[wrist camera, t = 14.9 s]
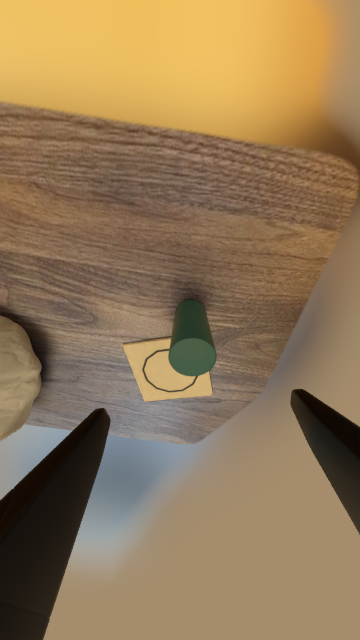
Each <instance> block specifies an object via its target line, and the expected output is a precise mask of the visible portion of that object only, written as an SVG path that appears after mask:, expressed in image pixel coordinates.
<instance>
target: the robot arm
mask: <svg viewBox="0 0 360 640" xmlns="http://www.w3.org/2000/svg"><path fill="white" fill-rule="evenodd" d="M291 407H292V409H293V411H294V414H295V415H296V418H297V420H298V422H299V425H300V427H301V429H302V431H303V433H304V436H305V438H306V440H307V442H308V444H309V446H310V448H311V450H312V452H313V453H314V455H315V457H316V459H317V460H318V462H319V464H320V466H321V467H322V469H323V471H324V473H325V474H326V476H327V478H328V480H329V481H330V483H331V485H332V487H333V488H334V490H335V492H336V494H337V495H338V497H339V499H340V501H341V502H342V504H343V506H344V508H345V509H346V511H347V513H348V515H349V516H350V518H351V520H352V522H353V523H354V525H355V527H356V529H357V530H358V532H359V534H360V427H359V426H358V425H356V424H355V423H353V422H352V421H350V420H349V419H347V418H345V417H344V416H343V415H341V414H339V413H338V412H337V411H335V410H334V409H332V408H331V407H329V406H327V405H326V404H324V403H323V402H322V401H320V400H319V399H317V398H316V397H314V396H313V395H311V394H310V393H308V392H307V391H305V390H303V389H295V390H292V394H291ZM109 427H110V417H109V415H108V413H107V412H106V410H105V409H104V408H98V409H95V410H94V411H93V412H92V413H91V414H90V415H89V416H88V417H87V418H86V419H85V420H84V421H83V422H82V423H81V424H79V425H78V426H77V427H76V428H75V429H74V430H73V431H72V432H71V433H70V434H69V435H68V436H67V437H66V438H65V439H64V440H63V441H62V442H61V443H60V444H59V445H58V446H57V447H56V448H54V449H53V450H52V451H51V452H50V453H49V454H48V455H47V456H46V457H45V458H44V459H43V460H42V461H41V462H40V463H39V464H38V465H37V466H36V467H35V468H34V469H33V470H32V471H31V472H29V473H28V474H27V475H26V476H25V477H24V478H23V479H22V480H21V481H20V482H19V483H18V484H17V485H16V486H15V487H14V489H12V490H11V491H10V492H9V493H7V494H6V495H5V497H3V498H2V499H1V500H0V640H43V638H44V635H45V632H46V629H47V626H48V623H49V619H50V618H49V617H50V616H51V613H52V610H53V607H54V604H55V601H56V598H57V595H58V592H59V588H60V586H61V582H62V579H63V576H64V573H65V570H66V567H67V564H68V561H69V558H70V555H71V552H72V549H73V546H74V543H75V539H76V536H77V533H78V530H79V527H80V524H81V521H82V518H83V515H84V512H85V509H86V506H87V503H88V500H89V497H90V493H91V490H92V487H93V484H94V481H95V478H96V475H97V472H98V469H99V466H100V463H101V459H102V456H103V452H104V448H105V444H106V439H107V435H108V431H109Z"/></svg>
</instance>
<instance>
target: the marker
mask: <svg viewBox="0 0 360 640" xmlns="http://www.w3.org/2000/svg"><path fill="white" fill-rule="evenodd" d="M168 359H169V363H170V365H171V367H172V368H173V369H174V370H175V371H176V372H178V373H180V374H182V375H185V376H200V375H203V374H205V373H207V372H208V371H210V370H211V369H212V368H213V366H214V364H215V362H216V351H215V347H214V343H213V339H212V335H211V331H210V327H209V323H208V318H207V314H206V310H205V308H204V306H203V305H202V304H201V303H200V302H199V301H196V300H193V299H189V300H185V301H183V302H182V303H180V304H179V305H178V307H177V309H176V313H175V319H174V325H173V331H172V337H171V342H170V348H169V354H168Z"/></svg>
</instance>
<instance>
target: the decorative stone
mask: <svg viewBox="0 0 360 640" xmlns="http://www.w3.org/2000/svg"><path fill="white" fill-rule="evenodd" d="M41 369H42V366H41V363H40V361H39V359H38V358H37V357H36V355H35V354H34V351H33V350H32V346H31V343H30V339H29V337H28V335H27V333H26V331H25V330H24V329H23V328H22V327H21V326H20V325H19V324H16V323H14V322H13V321H11V320H10V319H8V318H6V317H3V316H0V441H2V440H4V439H5V438H6V437H8V436H9V435H11V434H12V433H14V432H16V431H17V430H18V429H20V428H21V427H22V426H23V425H24V423H25V422H26V420H27V418H28V416H29V414H30V411H31V409H32V406H33V401H34V400H35V399H36V397H37V396H38V394H39V392H40V389H41V385H42V383H41V377H40V372H41Z"/></svg>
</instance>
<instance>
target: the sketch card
mask: <svg viewBox="0 0 360 640" xmlns="http://www.w3.org/2000/svg"><path fill="white" fill-rule="evenodd" d="M170 342H171V337H168V338H161V339H154V340H147V341H140V342H133V343H126V344H123V348H124V350H125V353H126V355H127V358H128V360H129V363H130V365H131V368H132V371H133V373H134V376H135V378H136V381H137V383H138V386H139V388H140V391H141V393H142V396H143V398H144V401H154V400H165V399H175V398H185V397H195V396H205V395H213V394H212V387H211V381H210V374H209V371H208V372H207V373H205V374H203V375H200V376H185V375H182V374H180V373H178V372H176V371H175V370H174V369H173V368H172V367H171V365H170V363H169V359H168V354H169V348H170Z"/></svg>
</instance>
